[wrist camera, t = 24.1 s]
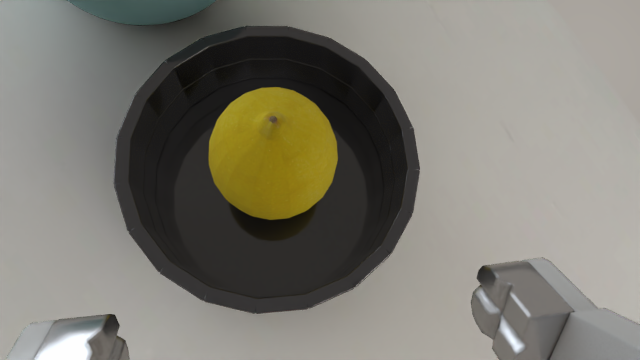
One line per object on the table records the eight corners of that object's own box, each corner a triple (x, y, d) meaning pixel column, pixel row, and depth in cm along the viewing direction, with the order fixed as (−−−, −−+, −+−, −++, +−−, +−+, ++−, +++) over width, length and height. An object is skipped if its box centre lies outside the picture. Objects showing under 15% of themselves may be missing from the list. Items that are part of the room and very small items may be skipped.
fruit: (343, 166, 21) (382, 97, 14) (289, 252, 20) (299, 228, 12) (259, 113, 22) (252, 18, 14) (199, 194, 20) (153, 136, 12)
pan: (335, 49, 24) (348, -3, 20) (429, 248, 21) (468, 237, 17) (117, 114, 21) (78, 70, 17) (193, 352, 19) (169, 371, 14)
